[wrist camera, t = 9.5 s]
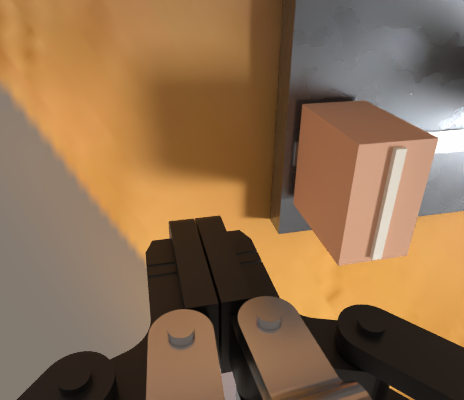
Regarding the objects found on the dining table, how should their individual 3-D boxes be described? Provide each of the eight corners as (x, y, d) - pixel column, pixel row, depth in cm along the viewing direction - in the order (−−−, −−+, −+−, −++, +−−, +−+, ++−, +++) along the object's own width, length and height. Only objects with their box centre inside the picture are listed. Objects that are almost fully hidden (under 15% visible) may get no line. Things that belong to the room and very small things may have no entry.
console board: (605, -273, 15) (653, -299, 13) (455, 197, 24) (474, 210, 23) (302, -322, 12) (324, -360, 11) (270, 219, 22) (279, 235, 21)
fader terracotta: (365, 100, 18) (442, 140, 13) (348, 197, 20) (409, 258, 16) (302, 103, 17) (362, 146, 13) (293, 203, 20) (340, 268, 15)
